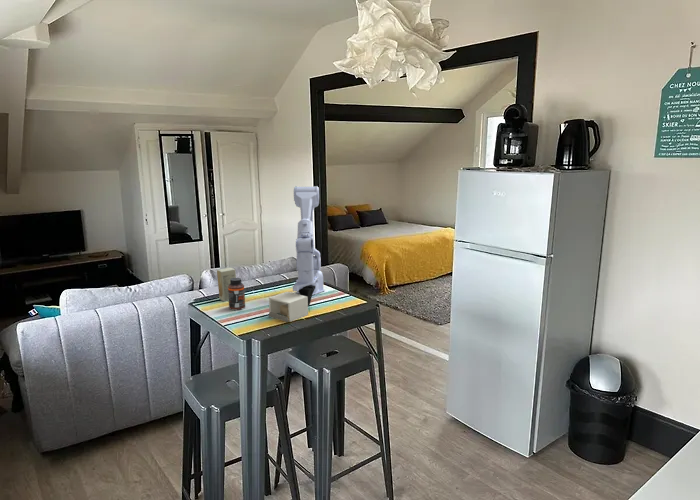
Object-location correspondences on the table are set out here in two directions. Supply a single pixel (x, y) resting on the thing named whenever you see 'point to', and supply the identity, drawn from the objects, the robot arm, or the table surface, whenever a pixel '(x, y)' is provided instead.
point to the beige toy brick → (284, 310)
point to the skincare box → (225, 282)
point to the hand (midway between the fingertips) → (306, 305)
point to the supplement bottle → (236, 294)
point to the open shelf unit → (295, 306)
